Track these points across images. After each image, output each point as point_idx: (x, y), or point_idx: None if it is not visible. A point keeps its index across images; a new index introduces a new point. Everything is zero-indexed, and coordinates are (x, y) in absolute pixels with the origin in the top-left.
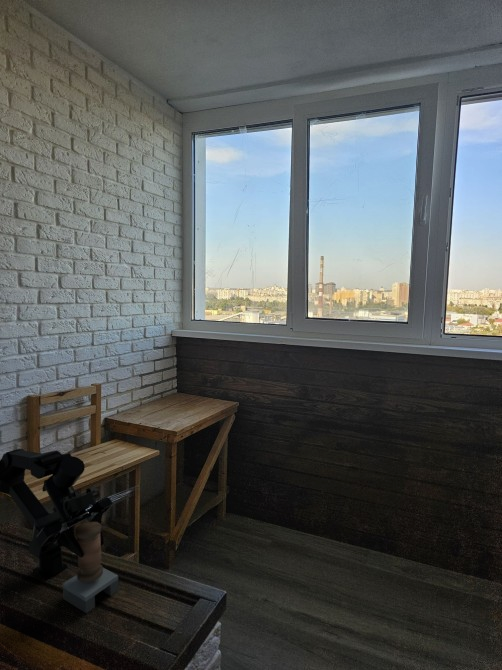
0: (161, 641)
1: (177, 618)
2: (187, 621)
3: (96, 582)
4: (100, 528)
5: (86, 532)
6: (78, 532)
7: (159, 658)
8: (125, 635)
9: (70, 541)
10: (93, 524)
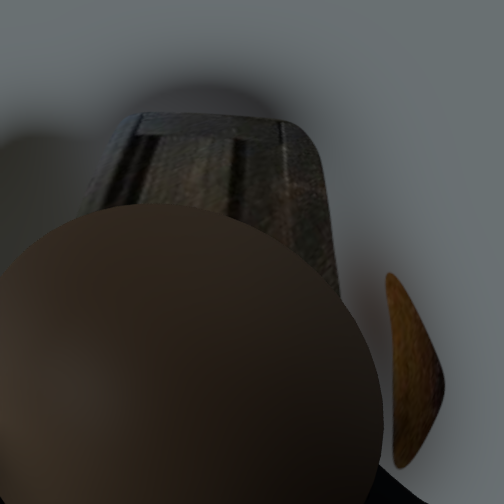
0: (267, 146)
1: (203, 144)
2: (204, 129)
3: None
4: (90, 216)
5: (284, 350)
6: (345, 480)
7: (299, 138)
8: (288, 209)
9: (391, 479)
10: (16, 398)
